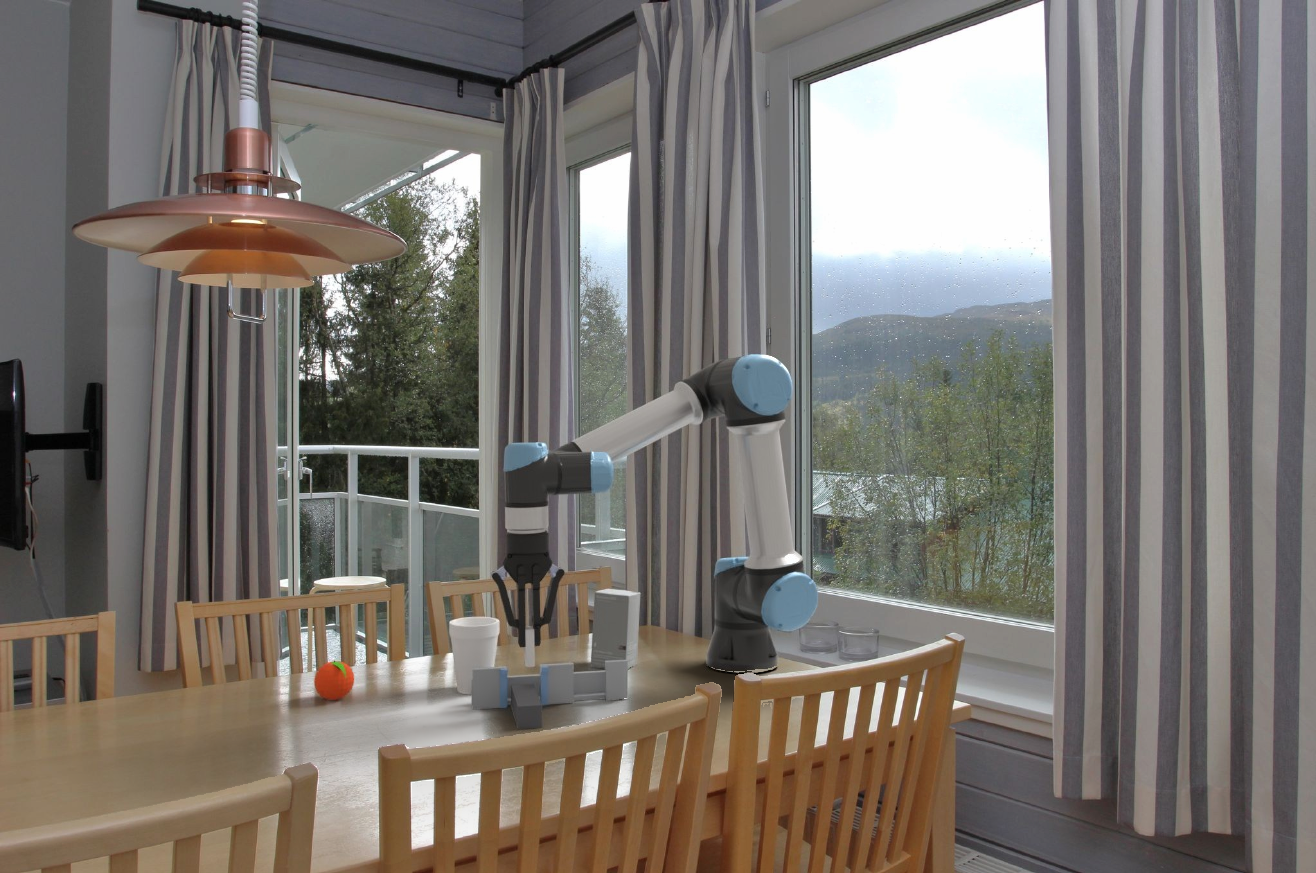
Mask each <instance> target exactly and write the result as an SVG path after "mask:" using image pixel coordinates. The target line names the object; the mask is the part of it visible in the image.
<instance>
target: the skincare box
mask: <svg viewBox="0 0 1316 873" xmlns="http://www.w3.org/2000/svg"><path fill="white" fill-rule="evenodd" d="M641 594H642V593H641V592H637V591H631V590H626V589H625V590H624V589H614V588H613V589H612V588H605V589H601V590H596V591H594V600H593V603H594V604H593V619H592V634H591V652H590V657H591V658H590V666H591V668H595V667H597V669H605V661H610V660H627V661H628V670H629V669H631V668H633V667H635V666H637V665H636V664H638V647H639V646H638V645H639V644H638V643H639V642H638V641H639V627H640V626H639V625H640V606H641ZM632 666H633V667H632ZM630 667H631V668H630Z"/></svg>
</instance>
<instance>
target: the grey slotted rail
mask: <svg viewBox="0 0 1316 873" xmlns="http://www.w3.org/2000/svg"><path fill="white" fill-rule="evenodd" d="M628 670H629V669H628V661H627V660H610V661H605V668H604V670H589V671H575V666H574V663H573V662H560V663H544V664H543V663H542V664H539V673H537V674H522V675H521V674H519V675H518V674H517V675H508V673H509V672H508V671H509V669H508V666H507V665H506V666H505V665H504V666H494V667H485V668H472V691H471V694H470V695H471V707H472V708H471V709H472V710H482V709H484V710H486V709H498V708H499V709H507V708H508V706H511V685H525V684H534V686H535V689H536V691H537V694H538V696H539V699H540V701H541V703H542V706H548V705H561V704H571V703H572V704H574V703H575V702H574V701H593V700H594V701H595V700H605V701H618V700H619V699H622V700H625V699H624V698H628V692H629V691H628V689H629V688H628V686H629V684H628V683H629V681H628V673H629V671H628ZM628 699H629V698H628Z"/></svg>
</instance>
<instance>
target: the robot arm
mask: <svg viewBox="0 0 1316 873" xmlns="http://www.w3.org/2000/svg"><path fill="white" fill-rule="evenodd" d="M793 391H794V390H793V381H792V378H791V374H790V372H789V370H788V368H787V367H786V366H785V365H784V364H783V363H782V362H781V361H780V360H778V359H777V358H775V357H773V356H771V355H767V354H747V355H743V356H735V357H731V358H729V357H727V358H724V359H719V360H717V361H715V362H712V363H711V364H709V365H707V366H705V367H704V368H702V369H700V370H699V371H697V372H695V373H693V374H691V375H690V376H688V377H686V378H684V379H683V380H680V381H679V382H676V383H675V385H674V388H673V390H671V391H669V392H667V393H665V394H663V395H661V396H659V397H658V398H656V399H653V400H651V401H649V402H647V403H645V404H644V405H642V406H639V407H637V408H634V410H630V411H629V412H627V413H625V414H623V415H621V416H619V417H617V418H616V419H613V420H612V421H611V420H610V421H609V422H608V423H605V424H603V425H601V426H600V427H599V426H598V427H597V428H595V429H593V430H591V431H589V432H587V433H585V434H583V435H582V436H579V437H577V438H575V439H573V440H570V442H567V443H565V444H563V445H561V446H559V447H557V448H555V449H550V450H549V449H548V446H547V443H545V442H513V443H512V442H510V443H509V444H507V445H506V446H505V448H504V454H503V470H502V471H503V477H504V500H505V502H504V522H505V523H504V526H505V529H506V530H507V532H506V533H505V558H504V560H503V563H502V566H501V567H499V568H498V569H497V570H493V571H491V573H490V575H491V578H492V580H493V581H494V583H496V586H497V588H498V592H499V595H500V599H501V604H502V608H503V610H504V614H505V619H506V621H507V624H508V626H509V627H513V628H516V629H517V645H518V646H519V648H524V650H523V651H524V665H525V667H526V668H533V667H536V659H535V658H536V654H535V653H536V650H535V647H540V645H541V628H542V627H543V626H545V625H549V624H551V621H552V617H553V613H554V607H555V604H556V600H557V599H556V598H557V593H558V591H559V590H558V589H559V584H560V582H561V581H562V578H563V577H564V576H565V574H566V573H565V570H564V569H563V568H562V567H558V566H557V565H555V564H553V560H552V557H550V540H549V539H550V537H549V536H550V533H549V532H548V530H547V529H548V528H549V525H550V524H549V496H558V495H559V496H562V495H563V496H564V495H565V496H566V495H586V494H591V495H594V494H600V493H601V494H602V493H606V492H608V491H609V490H610V489H611V487H612V486H613V483H614V472H615V471H614V463H616V462H617V461H620V460H622V459H624V458H625V457H627V456H629V455H632V454H633V453H635V452H637V451H639V450H641V449H643V448H645V447H647V446H648V445H650V444H653V443H655V442H657V441H658V440H660V439H662V438H664V437H666V436H668V435H670V434H672V433H674V432H677V431H678V430H679V429H682V428H683V427H685V426H688V425H690V424H691V425H693V426H698V425H700V424H702V423H704V422H707V421H708V420H711V419H714V418H721V417H725V425H726V429H727V430H728V431H729V432H731V433H732V434H733V435H734V436H735V442H736V451H737V458H738V464H739V465H738V466H739V473H740V482H741V490H742V498H743V506H744V512H745V514H744V515H745V522H746V528H747V536H748V537H747V538H748V545H749V552H750V554H749V556H737V557H733V556H732V557H724V558H719V559H717V561H716V562H715V565H714V567H715V568H714V574H713V579H714V629H713V633H712V634H711V638H710V642H709V645H708V648H707V651H706V657H705V659H706V661H705V665H706V664H707V665H706V666H707V667H708V666H710V667H713V668H715V669H721V670H725V671H733V672H734V671H745V672H739V673H747V672H752V671H747V670H755V669H768V668H772V667H774V666H777V664H778V665H779V655H778V651H777V649H776V648H777V647H776V645H775V642H774V639H773V636H772V632H771V630H777V631H784V632H791V631H795V630H799V629H801V628H802V627H804V626H805V625H807V623H809V622H810V619H811V618H812V616H813V615H814V614H815V612H816V609H817V607H818V604H819V592H818V588H817V584H816V583H815V581H814V580H813V579H812V578H811V577H810V576H809V575H808V574H805V567H804V566H805V565H804V559H803V556H802V555H801V554H800V553H798V552H797V551H796V550H795V548H794V540H793V532H792V525H791V517H790V508H789V502H788V492H787V486H786V475H785V468H784V467H785V466H784V460H783V451H782V445H781V444H782V443H781V437H780V429H781V428H782V426H783V425H784V423H785V422H786V413H785V412H786V411H785V409H786V408H787V407H788V405H789V402H790V401H791V400H792V398H793ZM506 572H507V574H508V575H509V576H510V578H511V579H512V580H513V581H514V583H515V584H516V618H515V616H514V612H513V609H512V606H511V600H510V598H509V593H508V591H507V587H506V584H505V580H506V579H507V576H506ZM548 572H549V576H550V581H549V584H548V588H547V589H548V590H547V594H546V597H545V598H546V599H545V602H544V603H545V604H544V607H543V613H542V615H541V582H542V581H543V579H544V578H545V577H546V575H547V574H548ZM528 584H530V588H531V591H530V592H531V623H532V625H531V626H529V625H528V626H526V625H527V624H526V622H527V617H526V614H527V613H526V585H528Z"/></svg>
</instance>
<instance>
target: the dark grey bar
mask: <svg viewBox="0 0 1316 873" xmlns="http://www.w3.org/2000/svg"><path fill="white" fill-rule="evenodd" d="M510 708H511V711H512V714H513V718H514V721H515V725H516V728H517V730H524V729H538V728H539V729H541V728H543V705H542V703H541V701H540V699H539V696H538V694H537V691H536V689H535V686H534V684H525V685H511V705H510Z"/></svg>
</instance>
